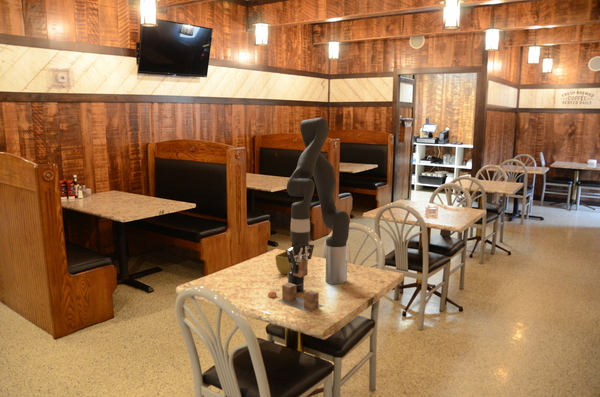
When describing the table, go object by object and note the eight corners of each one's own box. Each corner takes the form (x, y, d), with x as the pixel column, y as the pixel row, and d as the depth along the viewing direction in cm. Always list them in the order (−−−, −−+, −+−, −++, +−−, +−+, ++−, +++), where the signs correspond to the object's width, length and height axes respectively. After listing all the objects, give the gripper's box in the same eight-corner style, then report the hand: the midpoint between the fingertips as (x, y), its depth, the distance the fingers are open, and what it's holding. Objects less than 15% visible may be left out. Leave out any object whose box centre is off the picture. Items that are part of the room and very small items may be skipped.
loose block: (300, 272, 193) (300, 258, 192) (307, 275, 190) (307, 260, 189) (293, 275, 190) (293, 260, 189) (300, 277, 188) (300, 262, 187)
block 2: (310, 304, 191) (311, 290, 190) (318, 307, 188) (318, 292, 187) (303, 307, 188) (304, 292, 187) (311, 310, 186) (311, 295, 185)
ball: (272, 296, 203) (272, 288, 202) (278, 298, 200) (278, 290, 199) (265, 298, 200) (265, 290, 199) (271, 301, 198) (271, 292, 197)
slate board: (292, 297, 202) (292, 294, 201) (323, 308, 190) (323, 305, 190) (277, 303, 195) (277, 300, 195) (308, 315, 184) (308, 312, 183)
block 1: (289, 296, 199) (289, 282, 198) (296, 299, 197) (296, 285, 196) (282, 299, 196) (282, 285, 195) (289, 301, 194) (289, 287, 193)
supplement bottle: (298, 296, 203) (298, 269, 201) (284, 293, 206) (284, 266, 204) (306, 291, 208) (307, 264, 206) (293, 288, 212) (293, 262, 210)
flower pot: (300, 272, 234) (300, 254, 233) (290, 277, 227) (290, 258, 225) (285, 268, 239) (285, 251, 237) (274, 273, 232) (274, 255, 230)
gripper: (294, 234, 180) (294, 278, 183) (319, 228, 190) (319, 270, 193) (280, 230, 185) (280, 273, 188) (305, 224, 195) (305, 265, 198)
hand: (300, 271), depth 190 cm, fingers closed on loose block, 4 cm apart
